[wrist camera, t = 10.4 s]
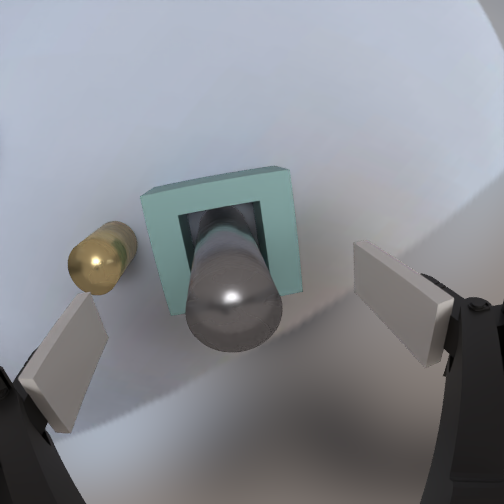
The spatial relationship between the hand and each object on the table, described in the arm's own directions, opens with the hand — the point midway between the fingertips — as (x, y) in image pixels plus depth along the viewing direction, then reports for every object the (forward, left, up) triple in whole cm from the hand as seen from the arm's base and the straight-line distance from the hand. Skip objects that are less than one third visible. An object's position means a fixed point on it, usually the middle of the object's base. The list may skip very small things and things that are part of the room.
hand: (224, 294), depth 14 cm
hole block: (0, 0, -12) cm, 12 cm away
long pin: (0, 0, -12) cm, 12 cm away
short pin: (-9, 0, -12) cm, 15 cm away
